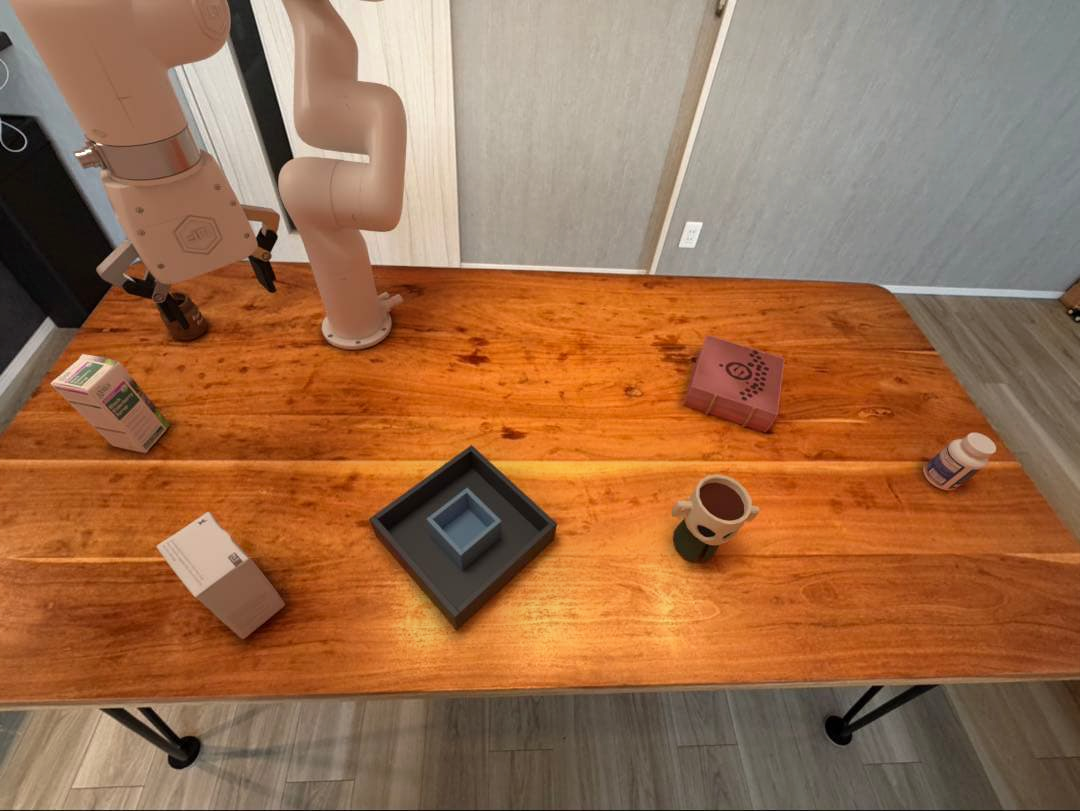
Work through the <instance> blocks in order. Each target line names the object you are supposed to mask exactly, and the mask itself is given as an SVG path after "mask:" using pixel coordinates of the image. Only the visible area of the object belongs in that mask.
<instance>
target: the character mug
mask: <svg viewBox="0 0 1080 811" xmlns="http://www.w3.org/2000/svg"><path fill="white" fill-rule="evenodd" d="M760 510H761V508H760V507H759V506H758V505H753V504H752V497H751V496H750V494H749V492H748V490H747V489H746V488H745V487H744V486H743V485H742V484H741V483H740V482H739V481H737V480H736V479H735V478H732V477H730V476H727V475H724V474H720V473H719V474H717V473H716V474H708V475H707V476H705V477H703V478H702V479H700V480H699V482H698V483H697V485H696V487H695V488H694V490H693V492H692V493H691V495H690V496H689V499H688V500H677V501H676V502H675V504H674V505H673V507H672V509H671V515H672V517H674V518H683V519H682V520H681V521H680V523H679V524H678V525H677V526H676V527H675V528H674V530H673V535H672V536H673V537H672V541H673V544H674V547H675V550H676V551H677V552H678V553H679V554H680V556H681V558H684V559H686V560H688V561H690V562H691V563H696V561H697V559H698V558H699V559H701V558H702V559H701V562H700V563H701V564H702V563H703V564H704V563H706V562H708V561H710V560H712V559H713V557H714V556H715V554H716V553H717V551H718V549H719V548H720V546H721V545H723V544H725V543H727V542H729V541H731V540H732V539H733V538H734V537H735V536H736V535H737V534H738V532H739V531H740V530H741V528H742V527H744V525H745V523H748V522H749V523H750V522H752V521H754V520H755V518H756V517H757V516H758V515H759V514H760Z"/></svg>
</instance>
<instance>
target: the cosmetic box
mask: <svg viewBox="0 0 1080 811" xmlns="http://www.w3.org/2000/svg"><path fill="white" fill-rule="evenodd" d="M156 549H157V550H158V552H159V553H160V555H161V557H162V558H163V559H164V560H165V561H166V563H167V565H168V566H169V567H170V568H171V570H172V571H173V573H175V575H176V576H177V577H178V578H179V580H180V581H181V583H183V585H184V586H185V588H186V589H187V590H188V591H189V592H190V594H191V595H192V596H193V597H194V598H195V599H196V600H198V601H199V602H200V603H201V604H202V605H204V606H205V607H206V608H207V609H208V610H210V612H211V613H212V614H213V615H214V616H216V617H217V619H219V620H220V621H221V622H222V623H223V624H224V625H225V626H226V627H228V629H229V630H231V631H232V632H233V633H234V634H235V635H236V636H238V637H239V638H240V640H244V639H246V638H247V637H248V636H250V635H252V633H253V632H254V631H256V630H257V629H258V628H259V627H261V626H262V625H263V624H265V623H266V622H267V621H268V620H269V619H270V618H271V617H273V616H274V615H275V614H277V613H278V612H279V611H280V610H281V609H283V608H284V607H285V606H286V602H284V600H283V598H282V597H281V595H280V594H279V593H278V591H277V590H276V589H275V587H274V586H273V585H272V583H271V582H270V581H269V579H268V578H267V576H265V575H264V572H262V571H261V569H260V568H259V567H258V566H257V565H256V563H255V562H254V561H253V560H252V558H251V557H250V556H249V555H248V554H247V553H246V552H245V550H244V549H243V548H242V547H241V545H239V544H238V543H237V541H236V540H234V538H233V537H232V536H231V534H230V533H229V532H228V531H226V529H224V527H222V525H221V524H220V523H219V521H218V520H217V519H216V518H215V517H214V515H213V514H212V513H211V512H210V511H207V512H205V513H203V514H202V515H201V516H199V517H198V518H196V519H195V520H193V521H192V522H190V523H188V524H187V525H186V526H185V527H183V528H181V529H180V530H178V531H177V532H175V533H174V534H173V535H171V536H168V537H167V538H166V539H165V540H163V541H161V542H160V543H158V544H157V545H156Z"/></svg>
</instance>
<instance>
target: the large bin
mask: <svg viewBox="0 0 1080 811" xmlns="http://www.w3.org/2000/svg"><path fill="white" fill-rule="evenodd" d="M466 488H468V489H469V490H470V491H471V492H472V493H473V494H475V495H476V496H477V497H478V498H479V499H480V500H481V501H482V502H483V503H484V504H485V505H486V506H487V507H488V508H489V509H490V510H491V511H492V512H493V513H494V514H495V515H496V516H497V517H498V518H499V519H500V520H501V521H502V522H501V538H500V539H499V540H498V541H497V542H495V543H494V544H493V545H492V546H491V547H490V548H489V549H487V550H486V551H485V552H484V553H483V554H482V555H480V556H479V557H478V558H477V559H476V560H475V561H474V562H472V563H471V564H470V565H469V566H468V567H467V568H466V569H464V570H463V571H462V570H461V569H460V568H459V567H458V566H457V565H456V564H455V562H454V561H453V560H452V559H451V558H450V557H449V556H448V555H447V554H446V553H445V552H444V551H443V549H442V548H441V547H440V546H439V545H438V544H437V543H436V542H435V541H434V540H433V539H432V538H431V536H430V533H429V529H428V524H427V518H428V517H430V516H431V515H432V514H433V513H435V512H436V511H437V510H439V509H440V508H441V507H443V506H444V505H445V504H446V503H448V502H449V501H450V500H452V499H453V498H454V497H456V496H457V495H458V494H459V493H461V492H462V491H463V490H465V489H466ZM368 520H369V522H370V524H371V527H372V530H373V532H374V535H375V537H376V538H377V540H378V541H379V542H380V543H381V544H382V545H383V547H384V548H385V549H386V550H387V552H389V554H390V555H391V556H392V557H393V558H394V559H395V560H396V562H397V563H398V564H399V565H400V567H402V569H403V570H404V571H405V572H406V573H407V574H408V576H409V577H410V578H411V579H412V580H413V582H414V583H415V584H416V585H417V587H419V588H420V590H421V591H422V592H423V593H424V594H425V596H427V598H428V599H429V600H430V602H432V604H433V605H434V606H435V607H436V608H437V609H438V610H439V613H441V614H442V615H443V617H444V618H445V619H446V620H447V621H448V622H449V623H450V625H451V626H452V628H454V629H455V630H456V631H459V630H460V629H461V628H462V627H463V626H464V625H465V624H466V623H468V621H469V620H470V619H472V618H473V617H474V616H475V615H476V614H477V613H478V612H479V611H481V609H483V608H484V606H486V604H487V603H488V602H490V601H492V599H493V598H494V597H495V596H496V595H497V594H499V592H500V591H501V590H503V589H504V588H505V587H506V586H507V585H508V584H509V583H511V581H513V579H514V578H516V577H517V576H518V575H519V574H520V573H521V572H522V571H523V570H524V569H525V568H526V567H527V566H528V565H529V564H530V563H531V562H533V561H534V560H535V559H536V558H537V557H538V556H539V555H540V554H541V553H542V552H544V550H545V549H547V548H548V546H550V545H551V544H552V543H553V542H554V541H555V537H556V531H557V527H558V523H557V522H556V521H555V520H554V519H553V518H552V517H551V516H550V515H548V513H546V512H545V511H544V510H543V509H542V508H541V507H540V506H539V505H537V504H536V503H535V501H533V500H532V499H531V497H529V496H528V495H527V494H526V493H525V492H524V491H523V490H521V489H520V487H518V486H517V485H516V484H515V483H514V482H513V481H512V480H511V479H509V477H507V476H506V475H505V474H504V473H503V472H502V471H501V470H499V468H497V466H495V465H494V464H493V463H492V462H491V461H490V460H489V459H487V458H486V456H484V455H483V453H481V452H480V451H479V450H478V449H477V448H476V447H474V446H473V445H472V444H470V445H469V446H468V447H467V448H465V449H464V450H462V451H461V452H459V453H458V454H457V455H455V456H454V457H452V458H451V459H450V460H448V461H447V462H446V463H444V464H443V465H441V466H440V467H439V468H438V469H436V470H434V471H433V472H432V473H430V474H429V475H427V476H426V477H425V478H424V479H422V480H421V481H419V482H417V484H415V485H414V486H412V487H411V488H409V489H408V490H407V491H405V492H404V493H403V494H401V495H400V496H398V497H397V498H396V499H394V500H393V501H392V502H390V503H389V504H387V505H386V506H385V507H383V508H382V509H380V510H379V511H378V512H376V513H375V514H374V515H372V516H370V517H369V518H368Z"/></svg>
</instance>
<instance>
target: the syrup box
mask: <svg viewBox="0 0 1080 811" xmlns="http://www.w3.org/2000/svg"><path fill="white" fill-rule="evenodd" d="M50 385H51V387H52V388H53V389H54V390H55V391H56V392H57V393H59V395H61V397H63V399H64V400H65V401H67V402H68V403H69V405H70V406H72V407H73V409H75V410H76V411H77V412H78V413H79V414H80V415H81V416H82V418H84V419H85V420H86V421H87V422H88V423H89V424H90V425H91V426H92V427H93V428H94V429H95V430H96V431H97V432H98V433H99V434H100V435H101V436H102V437H103V438H104V439H105V440H106V441H107V442H108V443H109V444H110V445H111V446H112V447H115V448H120V449H123V450H128V451H133V452H138V453H142V454H148V453H149V451H150V449H151V448H152V447H153V446H154V445H155V444H156V443H157V441H158V440H159V439H160V438H161V437H162V436H163V435H164V434H165V432H166V431H167V430H168V429H169V428H170V427H171V424H170V422H169V421H168V420H167V419H166V417H165V416H164V415H163V414H162V413H161V411H160V410H159V409H158V408H157V406H156V405H155V404H154V403H153V402H152V400H151V399H150V397H148V395H147V394H146V393H145V391H144V390H143V389H142V387H141V386H140V385H139V384H138V383H137V382H136V381H135V379H134V378H133V376H132V375H131V374H130V373H129V372H128V370H127V369H126V368H125V367H124V365H122V363H121V362H120V361H119V360H114V359H111V358H108V357H103V356H97V355H90V354H86V353H85V354H84V353H82V354H81V355H80V356H79V358H78V359H77V360H76V361H74V362H73V363H72V364H71V365H70V366H68V367H67V368H66V369H64V371H63V372H61V373H60V374H59V375H58V376H57V377H56V378H54V379H53V380H52V381H51V382H50Z"/></svg>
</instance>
